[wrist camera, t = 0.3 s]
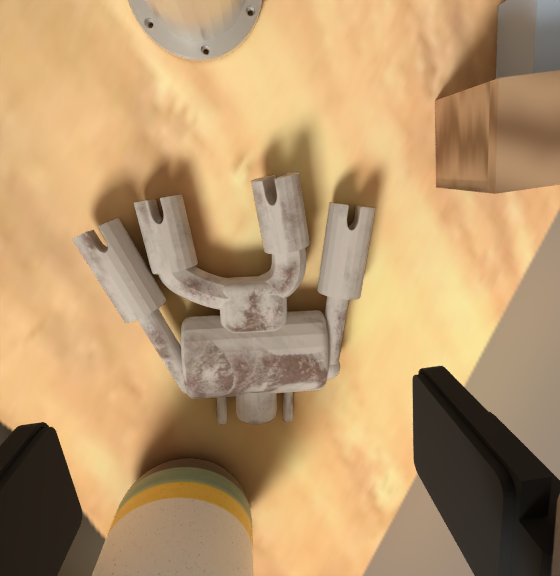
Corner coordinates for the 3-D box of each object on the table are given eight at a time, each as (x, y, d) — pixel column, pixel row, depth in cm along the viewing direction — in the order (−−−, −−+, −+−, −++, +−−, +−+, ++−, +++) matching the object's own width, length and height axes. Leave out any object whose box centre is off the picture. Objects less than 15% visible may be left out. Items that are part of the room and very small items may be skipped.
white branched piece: (80, 209, 43) (150, 445, 51) (51, 213, 37) (136, 485, 44) (358, 160, 45) (385, 394, 53) (380, 154, 38) (408, 424, 46)
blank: (497, 6, 40) (539, -21, 35) (535, 1, 41) (583, -26, 35) (492, 141, 44) (528, 138, 39) (527, 137, 44) (568, 133, 39)
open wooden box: (435, 100, 42) (498, 77, 32) (544, 85, 43) (643, 59, 32) (436, 187, 45) (495, 193, 34) (538, 172, 45) (628, 174, 35)
